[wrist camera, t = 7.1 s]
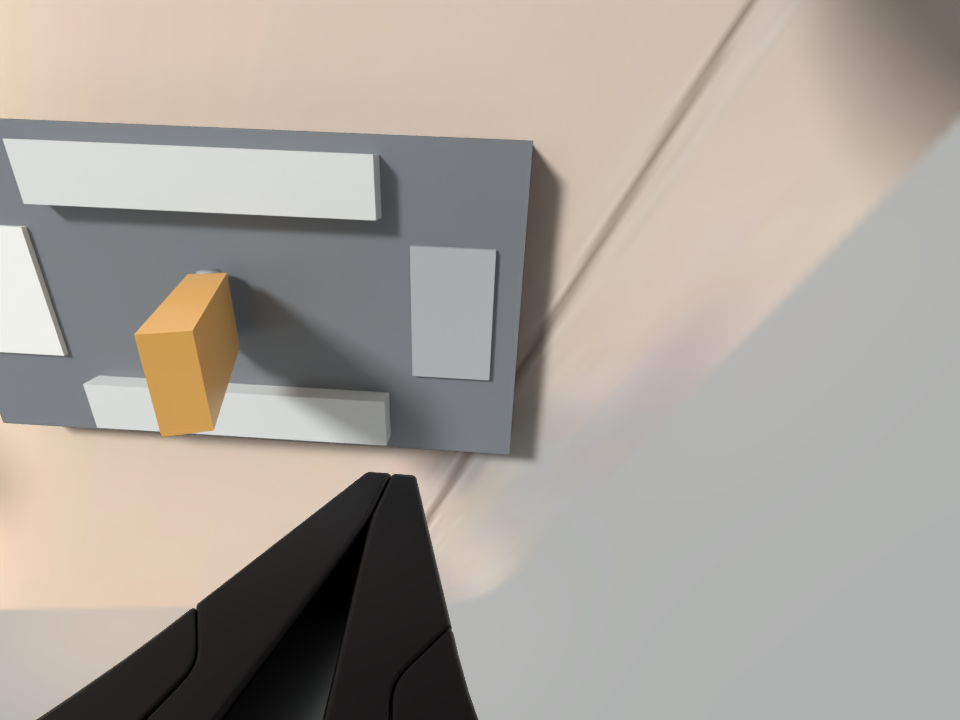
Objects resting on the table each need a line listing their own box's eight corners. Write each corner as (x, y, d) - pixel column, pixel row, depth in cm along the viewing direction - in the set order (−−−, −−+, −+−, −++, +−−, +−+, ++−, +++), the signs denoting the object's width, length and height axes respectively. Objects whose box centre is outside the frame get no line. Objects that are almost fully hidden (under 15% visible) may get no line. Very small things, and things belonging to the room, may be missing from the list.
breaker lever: (229, 268, 17) (192, 330, 11) (241, 340, 18) (213, 430, 13) (192, 269, 17) (133, 334, 11) (206, 343, 18) (161, 436, 12)
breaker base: (530, 141, 17) (534, 140, 15) (509, 433, 22) (509, 465, 19) (-73, 116, 17) (-156, 111, 15) (36, 404, 22) (-15, 432, 20)
